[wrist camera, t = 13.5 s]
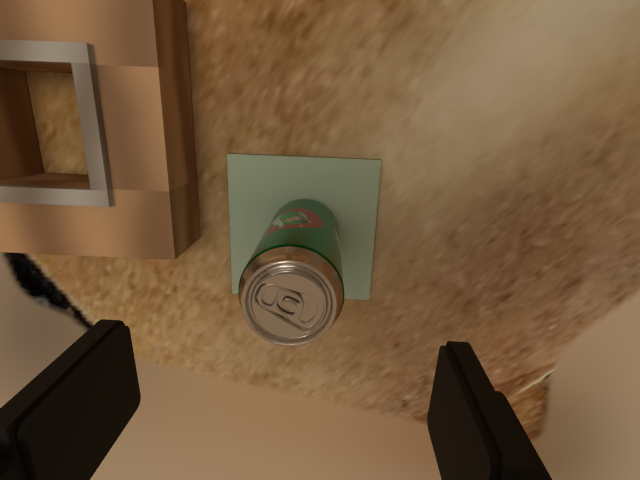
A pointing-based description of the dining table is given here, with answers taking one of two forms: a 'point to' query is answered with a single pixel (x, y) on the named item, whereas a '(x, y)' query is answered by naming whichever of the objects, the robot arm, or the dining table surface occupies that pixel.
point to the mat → (306, 183)
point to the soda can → (294, 276)
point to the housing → (100, 129)
